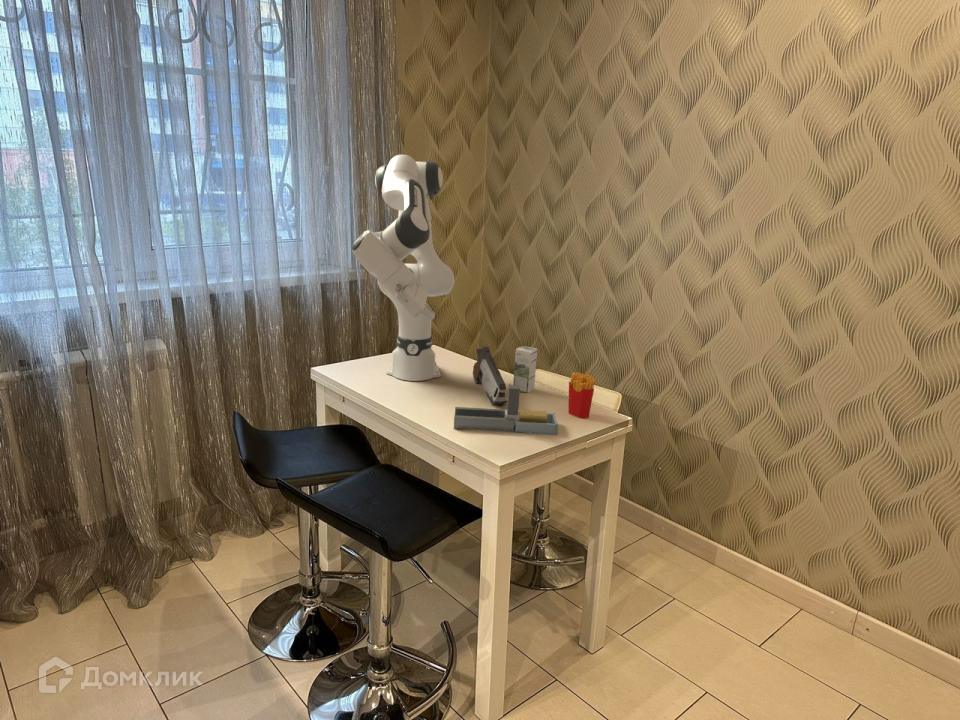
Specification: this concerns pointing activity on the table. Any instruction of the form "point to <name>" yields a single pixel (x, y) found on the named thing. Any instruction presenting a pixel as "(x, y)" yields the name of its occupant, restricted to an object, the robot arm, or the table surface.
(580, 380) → the french fries
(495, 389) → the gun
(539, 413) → the mustard yellow cube
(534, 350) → the syrup box
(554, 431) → the tray
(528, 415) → the golden tan cube
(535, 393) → the table surface
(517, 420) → the tall gray pillar
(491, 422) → the slot bed
